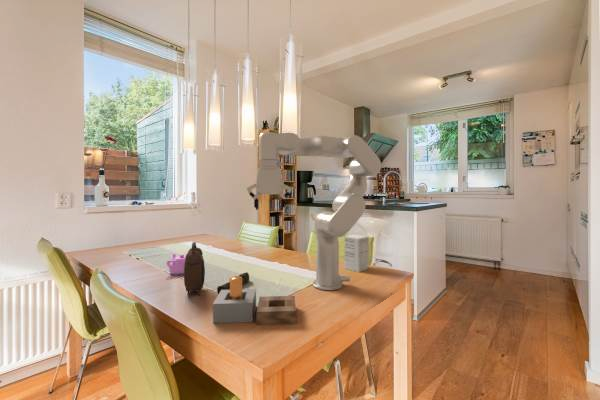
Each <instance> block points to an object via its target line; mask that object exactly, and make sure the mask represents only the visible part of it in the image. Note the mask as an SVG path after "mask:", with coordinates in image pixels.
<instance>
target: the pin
mask: <svg viewBox="0 0 600 400" xmlns="http://www.w3.org/2000/svg"><path fill="white" fill-rule="evenodd" d="M229 282H230V300H242V289H243V285H242V277H241V276H239V275H237V276H235V275H234V276H230V277H229Z"/></svg>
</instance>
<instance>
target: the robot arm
mask: <svg viewBox="0 0 600 400" xmlns="http://www.w3.org/2000/svg"><path fill="white" fill-rule="evenodd" d="M258 141H259V142H258V143H259V144H258V145H259V168H257V173H256V180H255V182H256V183H254V184H252V185H250V186H248V187H247V188H246V191H247V192H248V193H249V196H250V197H251V198H252V199H253V205H254V207H253V208H255V210H256V211H257V210H259V196H260V195H279V196H280V197H281V198H280V210H284V208H286V204H285V203H286V202H285V199H286V198H288V197H289V196H290V194H291V192H292V189H293V187H291V186H289V185H287V184H285V183H283V173H282V169H281V168H280V167H283V165H284V164H283V163H284V162H283V161H282V162H281V161H280V155H282V156H292V157H294V156H296V157H312V158H313V157H315V158H316V157H320V158H321V157H325V158H337V159H348V158H352V157H353V158H354V159H353V160H352V161H350V162H349V166H348V170H349V171H348V172H349V181H348V183H347V185H345V187H344V188H343V189H342V190H341V191H340V192H339V194H338V195H337V196H336V197H335V198H334V200H333V202H332V210H333V211H328V210H327V211H325V210H324V211H321V212H320V213H318V214H317V216H316V217H315V218H314V219H315V220H314V231H315V241H316V242H315V243H316V245H315V247H316V248H315V249H316V252H315V253H316V254H315V255H316V257H315V259H316V264H315V265H316V269H315V270H316V275H315V276H316V277H315V278H316V279H314V281H312V287H314V288H315V289H318V290H321V291H322V290H323V291H335V290H340V289H341V288H342V287H343V282H350V281H351V277H350V276H346V275H340V265H339V264H340V262H339V261H340V257H339V256H340V242H339V238H341V237H345V235H347V234H348V232H350V231H351V229H352V228H353V227H354V226H355V225H356V224H357V222H358V221H359V220H360V218H361V217H362V216H363V215H364V213H365V209H366V201H365V198H364V196H365V194H366V192H367V190H368V183H367V180H368V179H367V177H373V176H376V175H378V174H379V173H380V171H381V169H382V162H381V159H380V158H379V156H378V155H377V154H376V153H375V152H374V150H373V149H372V148H371V147H370V146H369V145H368V143H367V142H366V141H365V140H364V139H363V138H362V137H361V136H359V135H355V134H353V135H350V136H346V137H340V136H328V135H315V136H310V137H304V138H302V137H301V138H300V137H299V135H297V134H296V133H295V132H272V131H271V132H270V131H266V132H261V133H260V135H259V139H258ZM253 189H255V190H256V193H254V192H253V191H252V190H253ZM284 189H286V190H287V191H286V193H285V194H284V192H283V190H284Z"/></svg>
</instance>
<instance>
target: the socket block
mask: <svg viewBox="0 0 600 400" xmlns="http://www.w3.org/2000/svg"><path fill="white" fill-rule="evenodd" d="M256 307H257V289H256V288H242V300H230V290H221V291H220V293H219V295H217V296H216V297H215V300H214V301H213V303H212V323H213V324H222V323H223V324H225V323H230V324H231V323H253V321H254V316H255V313H256V309H257V308H256Z"/></svg>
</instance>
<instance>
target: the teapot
mask: <svg viewBox="0 0 600 400" xmlns="http://www.w3.org/2000/svg"><path fill="white" fill-rule="evenodd" d="M185 257H186V255H185V254H184V253H183V254H179V255H178V256H177V255H176V253H174V252H172V260H171V259H168V260H167V261H166V265H167V267H168V269H169V270H168V271H169V273H171V275H175V276H183V275H182V274H184V264H185Z"/></svg>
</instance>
